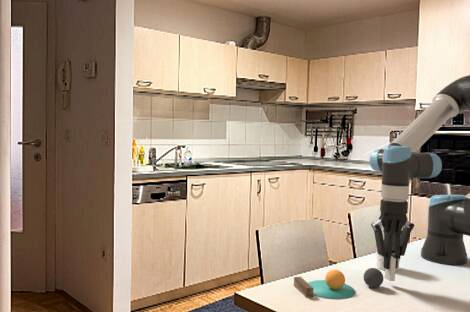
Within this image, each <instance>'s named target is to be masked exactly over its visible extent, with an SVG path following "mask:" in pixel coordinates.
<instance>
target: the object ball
mask: <svg viewBox="0 0 470 312" xmlns="http://www.w3.org/2000/svg"><path fill="white" fill-rule="evenodd" d="M324 278H325V279H324V280H325V281H326V284H327V286H328V287H329V288H331V289H334V290H338V289H340V288H342V287H343V286H344V284H346V277H345V274H344V272H342V271H341V270H338V269H330V270H329V271H328V272H327V273H326V274H325V277H324Z"/></svg>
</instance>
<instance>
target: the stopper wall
mask: <svg viewBox="0 0 470 312" xmlns="http://www.w3.org/2000/svg"><path fill="white" fill-rule="evenodd" d="M293 287H295V288H296V289H297V290H298V291H299V292H300V293H301V294H302V295H303V296H304V297H305V298H313V297H314V295H313V287H312V286H311V285H310V284H308V282H307V280H305V279H304V278H303V277H302V276H294V277H293Z"/></svg>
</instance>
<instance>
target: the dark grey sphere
mask: <svg viewBox="0 0 470 312" xmlns="http://www.w3.org/2000/svg"><path fill="white" fill-rule="evenodd" d="M363 281H364V283H365V284H366V285H367V287H369V288H372V289H373V288H374V289H375V288H379V287H380V286H382V284H383V282H384V274H383V273H382V270H381V269H379V268H376V267H371V268H368V269H366V270H365V271H364V273H363Z"/></svg>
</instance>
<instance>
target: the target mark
mask: <svg viewBox="0 0 470 312" xmlns="http://www.w3.org/2000/svg"><path fill="white" fill-rule="evenodd" d="M307 283H308V284H310V285H311V286H312V287H313V296H315V297H319V298H324V299H330V300H343V299H349V298H351V297H352V298H353V296H355V294H356V290H355V288H354V287H352V286H351V285H349V284H346V283H345V284H344V286H343V287H342V288H340V289H338V290H334V289H331V288H329V287H328V286H327V284H326V281H325V279H319V280H312V281H308V282H307Z"/></svg>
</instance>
